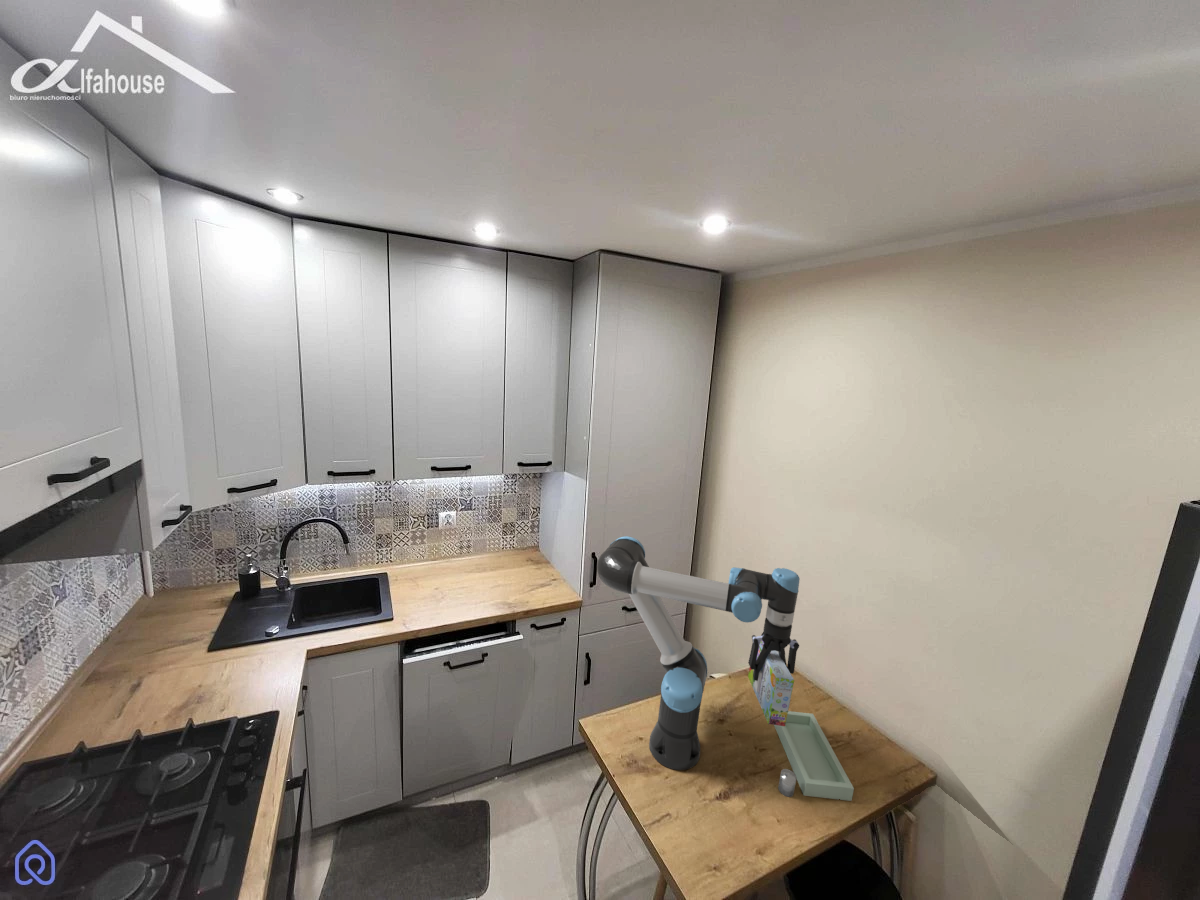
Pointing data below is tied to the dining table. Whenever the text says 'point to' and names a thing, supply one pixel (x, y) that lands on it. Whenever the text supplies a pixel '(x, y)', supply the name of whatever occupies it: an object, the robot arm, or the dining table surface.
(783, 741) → the tray
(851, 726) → the dining table surface
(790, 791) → the metal part
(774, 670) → the snack box
